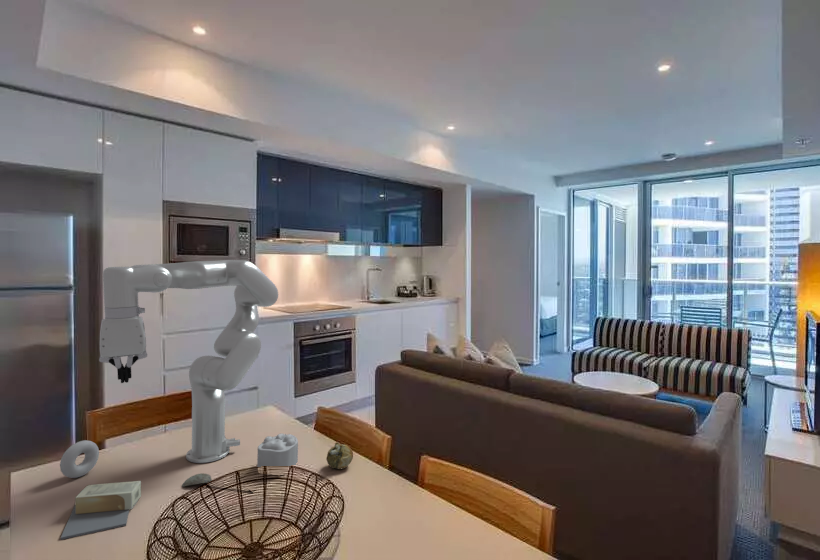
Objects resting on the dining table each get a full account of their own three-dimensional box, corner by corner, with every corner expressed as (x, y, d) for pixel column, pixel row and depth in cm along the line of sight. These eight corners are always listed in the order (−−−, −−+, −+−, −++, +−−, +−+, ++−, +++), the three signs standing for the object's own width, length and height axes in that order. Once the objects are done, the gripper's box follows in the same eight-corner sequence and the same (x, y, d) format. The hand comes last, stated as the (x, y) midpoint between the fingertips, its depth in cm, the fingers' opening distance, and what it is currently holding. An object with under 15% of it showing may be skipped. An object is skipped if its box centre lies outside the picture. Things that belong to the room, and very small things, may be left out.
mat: (132, 493, 114) (132, 491, 114) (126, 525, 100) (126, 523, 100) (76, 503, 108) (76, 502, 108) (60, 539, 94) (60, 537, 94)
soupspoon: (193, 479, 124) (176, 491, 118) (193, 468, 124) (175, 479, 118) (261, 487, 119) (247, 500, 113) (260, 475, 119) (246, 488, 113)
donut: (65, 485, 117) (65, 449, 117) (56, 483, 118) (56, 447, 118) (102, 469, 127) (102, 435, 126) (93, 467, 128) (93, 434, 128)
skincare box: (141, 496, 112) (88, 500, 109) (141, 480, 111) (88, 483, 109) (131, 510, 105) (74, 515, 103) (131, 493, 105) (74, 497, 103)
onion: (355, 470, 129) (355, 444, 129) (328, 474, 127) (329, 447, 126) (350, 460, 136) (350, 435, 136) (324, 463, 134) (325, 438, 134)
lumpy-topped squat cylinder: (252, 473, 127) (252, 444, 126) (274, 454, 139) (274, 428, 139) (285, 477, 125) (285, 447, 124) (304, 458, 137) (305, 431, 137)
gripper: (154, 309, 121) (157, 374, 122) (89, 313, 114) (92, 382, 115) (154, 313, 115) (157, 381, 116) (84, 317, 107) (88, 389, 108)
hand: (124, 381), depth 115 cm, fingers closed
